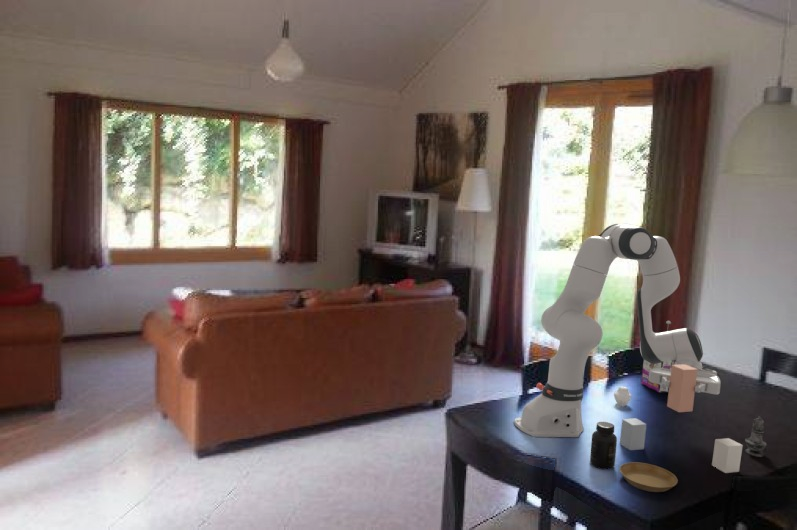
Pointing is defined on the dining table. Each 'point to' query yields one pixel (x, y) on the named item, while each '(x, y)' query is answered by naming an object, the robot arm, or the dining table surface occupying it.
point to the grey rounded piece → (622, 396)
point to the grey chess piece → (756, 439)
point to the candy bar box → (645, 375)
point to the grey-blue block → (633, 434)
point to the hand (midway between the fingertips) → (682, 387)
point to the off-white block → (727, 455)
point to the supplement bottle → (603, 446)
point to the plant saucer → (648, 477)
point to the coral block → (682, 388)
